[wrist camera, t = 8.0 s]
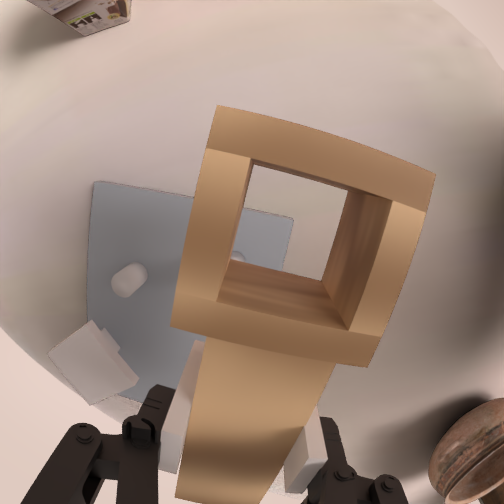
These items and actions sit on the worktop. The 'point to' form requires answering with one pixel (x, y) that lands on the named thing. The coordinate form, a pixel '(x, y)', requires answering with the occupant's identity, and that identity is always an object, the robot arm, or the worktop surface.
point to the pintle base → (145, 289)
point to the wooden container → (494, 496)
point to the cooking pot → (470, 455)
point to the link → (283, 297)
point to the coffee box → (87, 13)
